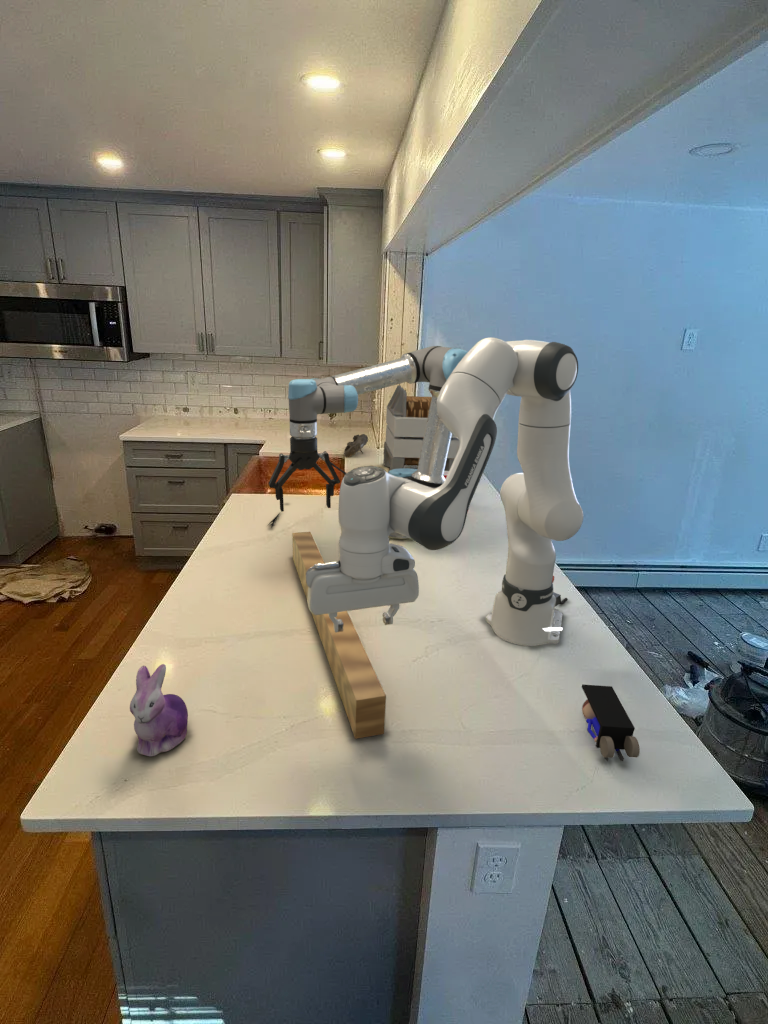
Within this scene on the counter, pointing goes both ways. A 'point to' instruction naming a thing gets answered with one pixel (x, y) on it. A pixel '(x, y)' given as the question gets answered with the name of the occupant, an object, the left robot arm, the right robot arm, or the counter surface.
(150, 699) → the figurine
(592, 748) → the counter surface
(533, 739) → the counter surface
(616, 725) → the figurine character
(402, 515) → the right robot arm
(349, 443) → the fossil
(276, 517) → the feather
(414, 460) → the grey boxy frame
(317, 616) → the post
